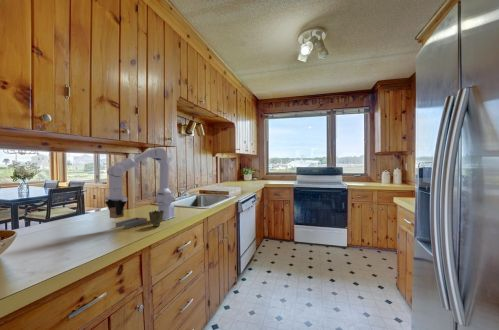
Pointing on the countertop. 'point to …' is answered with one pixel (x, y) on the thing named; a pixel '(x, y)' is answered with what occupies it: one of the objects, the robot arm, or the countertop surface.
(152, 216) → the cup
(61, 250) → the countertop surface
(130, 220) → the channel
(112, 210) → the walnut block
